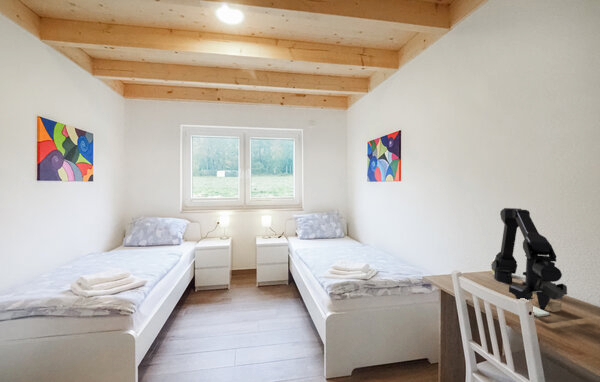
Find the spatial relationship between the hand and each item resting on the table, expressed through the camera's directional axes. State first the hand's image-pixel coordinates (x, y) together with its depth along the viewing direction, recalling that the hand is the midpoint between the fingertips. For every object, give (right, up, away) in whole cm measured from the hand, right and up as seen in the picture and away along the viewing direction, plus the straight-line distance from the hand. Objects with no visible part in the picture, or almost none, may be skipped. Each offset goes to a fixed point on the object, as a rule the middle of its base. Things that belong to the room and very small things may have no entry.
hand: (533, 310), depth 98 cm
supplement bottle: (+17, 0, +39) cm, 43 cm away
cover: (0, -2, 0) cm, 2 cm away
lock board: (+11, -1, +8) cm, 14 cm away
